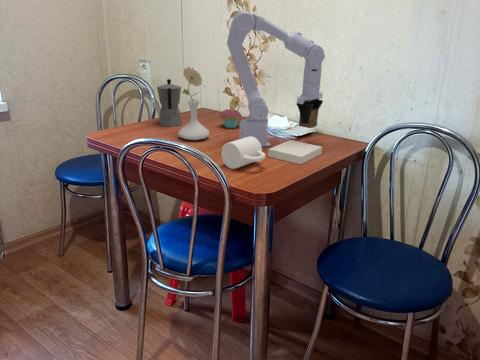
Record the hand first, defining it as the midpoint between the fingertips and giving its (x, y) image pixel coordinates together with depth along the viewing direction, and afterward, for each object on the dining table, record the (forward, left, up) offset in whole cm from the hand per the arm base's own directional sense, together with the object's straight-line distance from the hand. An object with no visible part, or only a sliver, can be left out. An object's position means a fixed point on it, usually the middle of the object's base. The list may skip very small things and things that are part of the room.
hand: (308, 121), depth 147 cm
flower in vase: (-37, +18, -9) cm, 42 cm away
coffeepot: (-42, +39, -9) cm, 58 cm away
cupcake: (-19, +30, -9) cm, 37 cm away
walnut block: (0, 0, -2) cm, 2 cm away
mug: (-28, -16, -9) cm, 33 cm away
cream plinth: (-9, -10, -8) cm, 16 cm away
